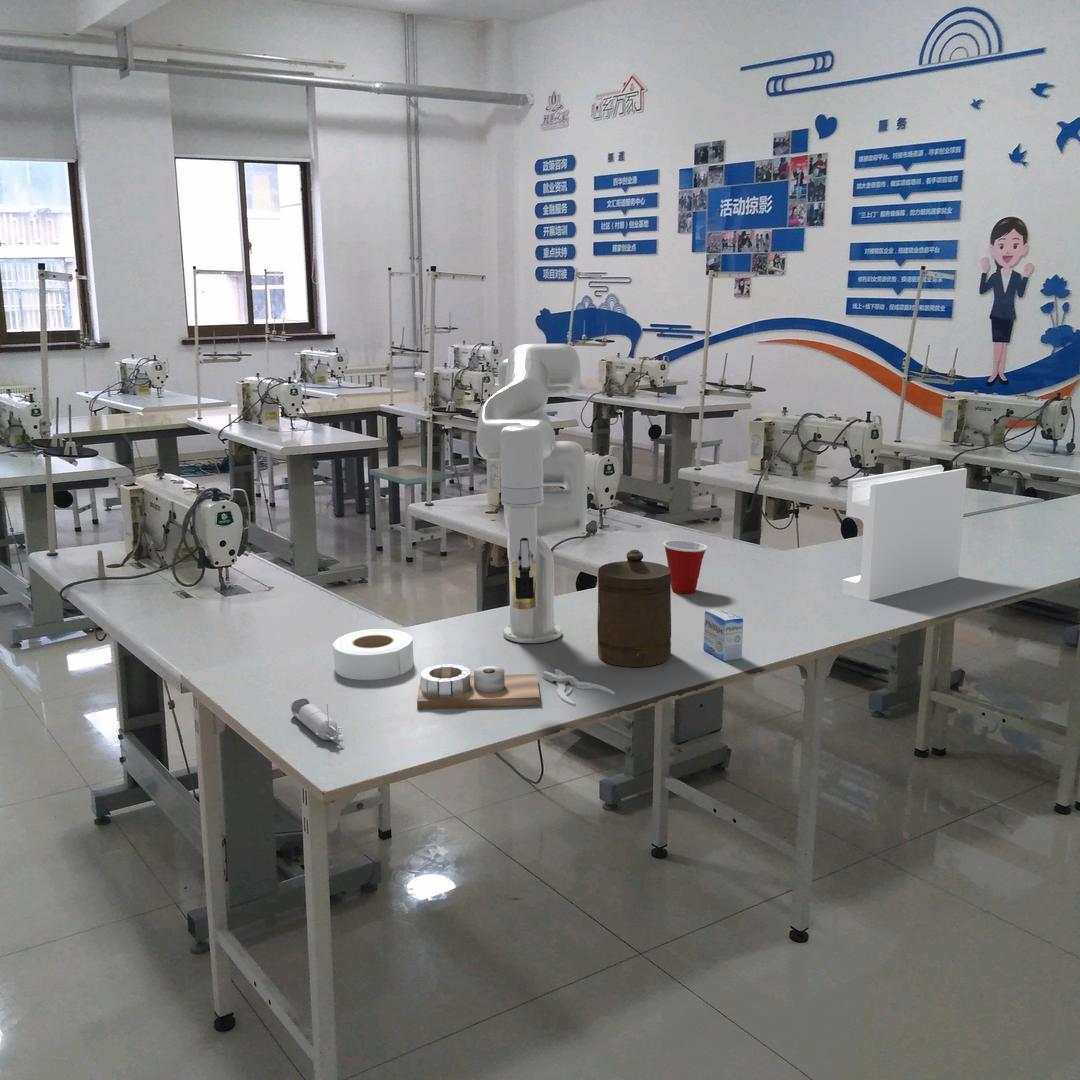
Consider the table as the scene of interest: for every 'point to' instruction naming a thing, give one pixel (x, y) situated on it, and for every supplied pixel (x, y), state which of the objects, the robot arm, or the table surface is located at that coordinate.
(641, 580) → the wooden container
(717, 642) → the medicine box
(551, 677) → the pliers
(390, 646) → the roll of tape
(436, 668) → the ring
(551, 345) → the robot arm
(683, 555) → the plastic cup
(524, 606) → the brass peg
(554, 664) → the table surface
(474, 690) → the fitting board
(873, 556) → the block
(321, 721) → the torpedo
